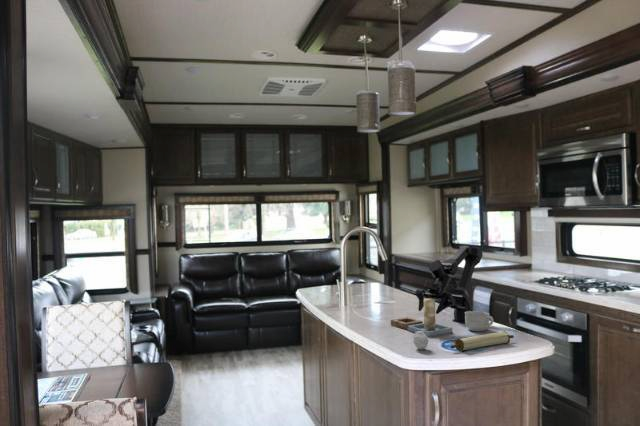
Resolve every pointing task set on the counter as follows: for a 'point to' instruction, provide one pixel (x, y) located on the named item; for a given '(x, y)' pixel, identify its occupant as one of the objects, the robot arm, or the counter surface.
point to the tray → (439, 331)
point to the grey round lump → (420, 340)
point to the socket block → (405, 322)
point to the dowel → (429, 314)
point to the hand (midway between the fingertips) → (427, 312)
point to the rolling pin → (482, 341)
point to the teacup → (477, 320)
